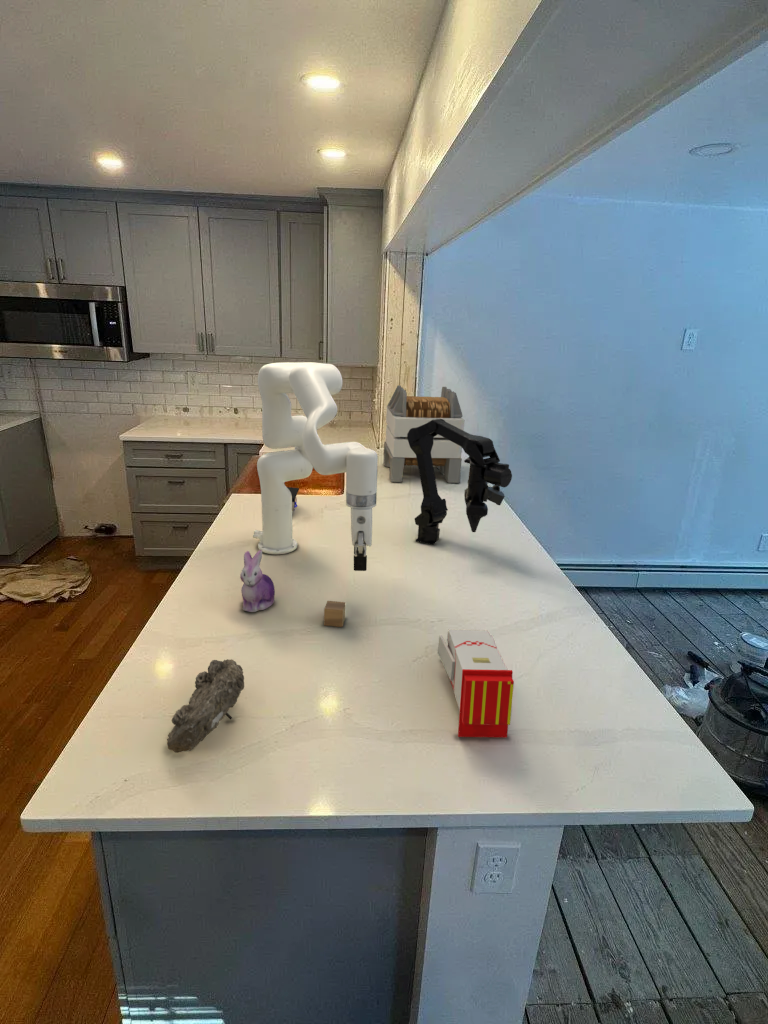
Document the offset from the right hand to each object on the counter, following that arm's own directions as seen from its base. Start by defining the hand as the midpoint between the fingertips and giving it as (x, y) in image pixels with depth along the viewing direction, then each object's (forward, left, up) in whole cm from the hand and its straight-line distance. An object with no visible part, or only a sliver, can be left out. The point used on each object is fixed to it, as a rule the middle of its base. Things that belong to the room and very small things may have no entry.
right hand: (472, 526), depth 179 cm
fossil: (-23, -96, -11) cm, 100 cm away
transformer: (-50, +85, -11) cm, 99 cm away
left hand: (-17, -46, +2) cm, 49 cm away
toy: (+19, -66, -11) cm, 70 cm away
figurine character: (-74, +8, -11) cm, 75 cm away
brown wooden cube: (-19, -55, -11) cm, 59 cm away
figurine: (-41, -57, -11) cm, 71 cm away
